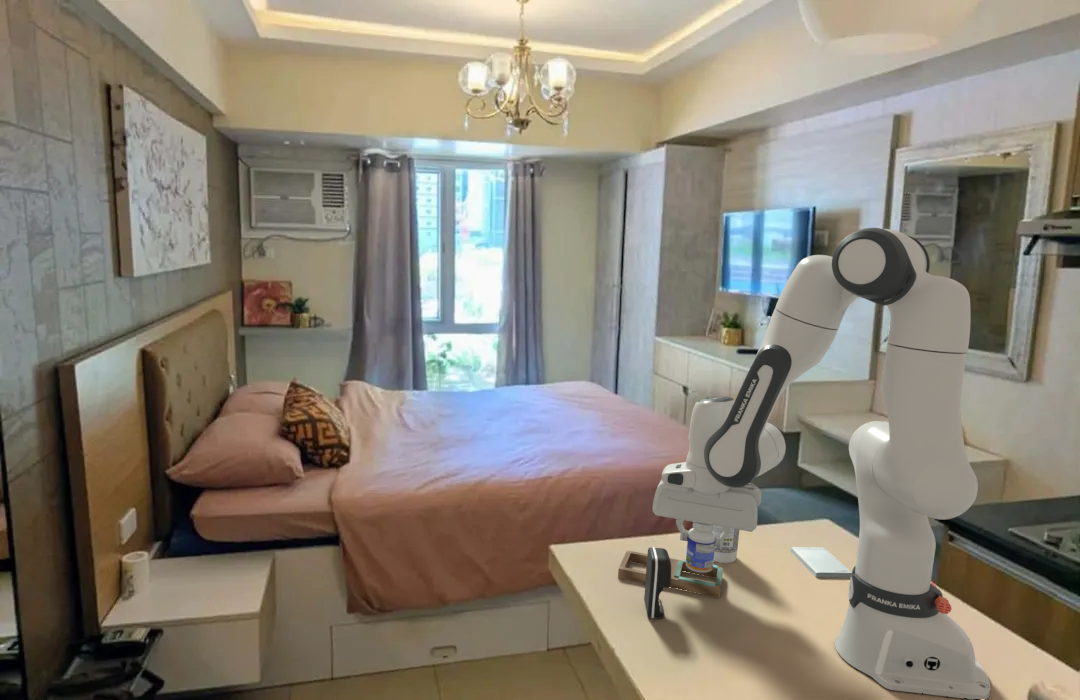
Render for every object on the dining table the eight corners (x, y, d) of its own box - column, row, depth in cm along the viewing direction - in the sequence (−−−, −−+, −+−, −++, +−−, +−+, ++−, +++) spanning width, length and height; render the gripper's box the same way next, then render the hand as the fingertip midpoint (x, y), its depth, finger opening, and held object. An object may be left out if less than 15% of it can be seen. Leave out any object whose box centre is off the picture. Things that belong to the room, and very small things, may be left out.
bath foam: (742, 563, 147) (751, 474, 144) (712, 565, 145) (721, 475, 142) (726, 549, 153) (735, 464, 150) (698, 550, 152) (706, 464, 149)
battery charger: (668, 621, 122) (673, 561, 121) (647, 619, 123) (652, 560, 121) (663, 601, 129) (668, 544, 128) (643, 599, 130) (647, 543, 128)
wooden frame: (722, 577, 140) (723, 566, 140) (719, 597, 132) (720, 586, 131) (626, 559, 146) (627, 549, 146) (617, 577, 138) (618, 567, 137)
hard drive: (853, 573, 143) (825, 546, 155) (816, 572, 142) (790, 546, 154) (853, 580, 143) (824, 553, 155) (815, 580, 142) (789, 553, 154)
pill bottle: (683, 560, 140) (687, 515, 138) (710, 561, 139) (714, 516, 138) (687, 572, 134) (691, 525, 133) (715, 574, 134) (719, 527, 133)
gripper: (763, 480, 134) (755, 546, 136) (659, 464, 140) (653, 527, 142) (762, 490, 128) (755, 559, 130) (654, 473, 134) (648, 539, 136)
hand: (701, 542), depth 136 cm, fingers closed on pill bottle, 5 cm apart
